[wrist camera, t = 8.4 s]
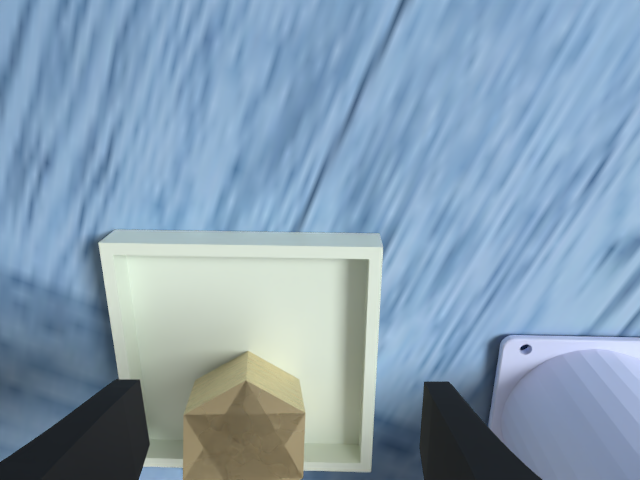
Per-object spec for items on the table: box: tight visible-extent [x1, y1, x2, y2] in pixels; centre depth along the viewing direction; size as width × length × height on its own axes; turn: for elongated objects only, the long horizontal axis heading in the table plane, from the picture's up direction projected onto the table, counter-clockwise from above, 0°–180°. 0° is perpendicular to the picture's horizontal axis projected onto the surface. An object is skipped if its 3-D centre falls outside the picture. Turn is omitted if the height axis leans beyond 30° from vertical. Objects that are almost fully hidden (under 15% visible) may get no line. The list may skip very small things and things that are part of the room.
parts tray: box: [98, 229, 383, 472], centre depth 22 cm, size 11×11×2 cm
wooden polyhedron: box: [183, 351, 305, 480], centre depth 21 cm, size 5×5×3 cm
